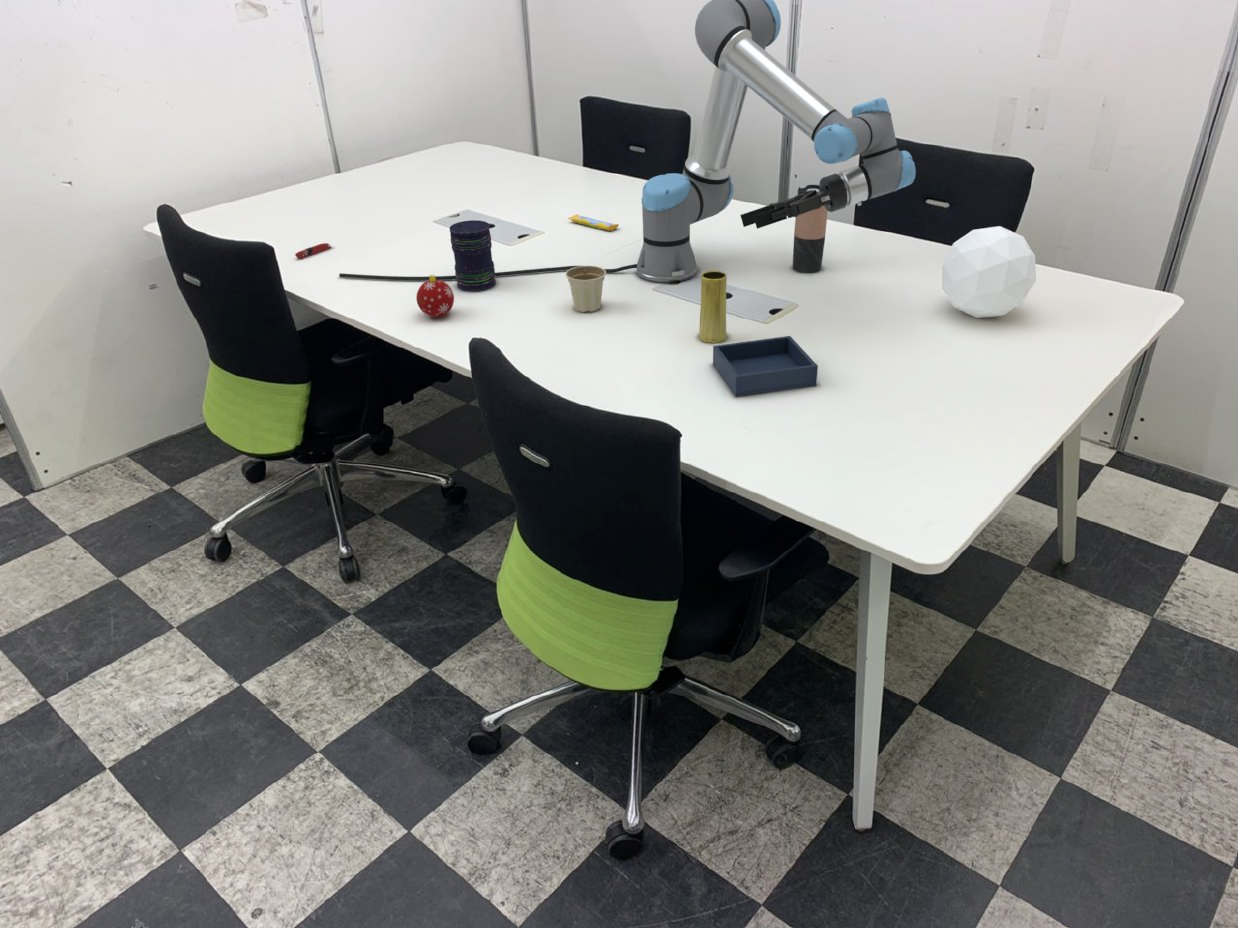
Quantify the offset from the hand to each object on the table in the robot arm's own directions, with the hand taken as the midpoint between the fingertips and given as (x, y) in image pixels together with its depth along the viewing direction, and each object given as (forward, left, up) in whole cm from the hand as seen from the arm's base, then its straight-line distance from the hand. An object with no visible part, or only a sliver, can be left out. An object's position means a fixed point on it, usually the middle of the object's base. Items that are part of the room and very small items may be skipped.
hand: (748, 221), depth 201 cm
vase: (-3, -14, -22) cm, 26 cm away
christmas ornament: (-68, -22, -22) cm, 75 cm away
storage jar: (-69, -2, -22) cm, 73 cm away
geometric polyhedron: (+50, +17, -22) cm, 57 cm away
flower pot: (-36, -7, -22) cm, 43 cm away
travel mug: (+7, +33, -22) cm, 40 cm away
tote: (+12, -28, -22) cm, 37 cm away
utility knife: (-125, +5, -22) cm, 127 cm away
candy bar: (-59, +49, -22) cm, 80 cm away
